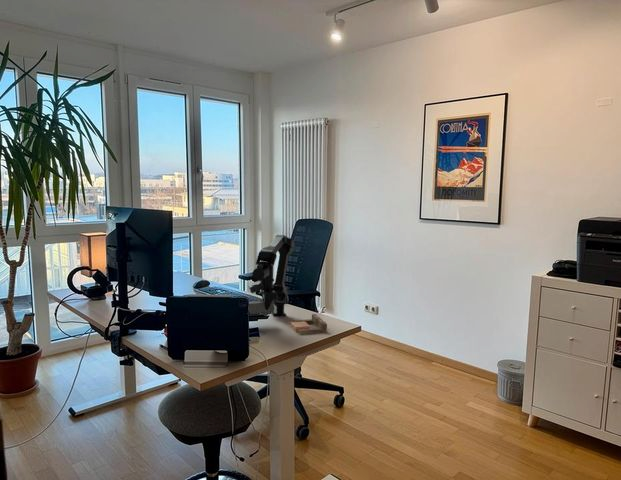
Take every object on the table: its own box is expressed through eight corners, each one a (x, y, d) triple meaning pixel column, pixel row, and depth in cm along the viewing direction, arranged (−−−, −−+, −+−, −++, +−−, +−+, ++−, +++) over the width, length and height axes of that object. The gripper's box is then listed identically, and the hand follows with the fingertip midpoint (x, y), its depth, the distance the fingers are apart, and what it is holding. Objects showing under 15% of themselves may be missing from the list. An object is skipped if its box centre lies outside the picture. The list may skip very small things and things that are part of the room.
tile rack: (289, 323, 206) (290, 315, 205) (315, 321, 210) (315, 313, 209) (299, 334, 192) (299, 325, 191) (326, 332, 196) (327, 323, 195)
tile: (290, 327, 202) (290, 322, 201) (304, 326, 204) (305, 321, 204) (295, 332, 195) (295, 327, 195) (309, 331, 197) (309, 326, 197)
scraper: (249, 315, 197) (249, 305, 196) (246, 311, 203) (246, 300, 202) (276, 313, 201) (276, 302, 200) (272, 308, 207) (272, 298, 207)
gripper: (246, 272, 206) (245, 304, 209) (253, 281, 189) (253, 315, 191) (268, 271, 210) (267, 302, 212) (278, 280, 193) (277, 314, 195)
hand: (266, 308), depth 202 cm, fingers closed on scraper, 3 cm apart
